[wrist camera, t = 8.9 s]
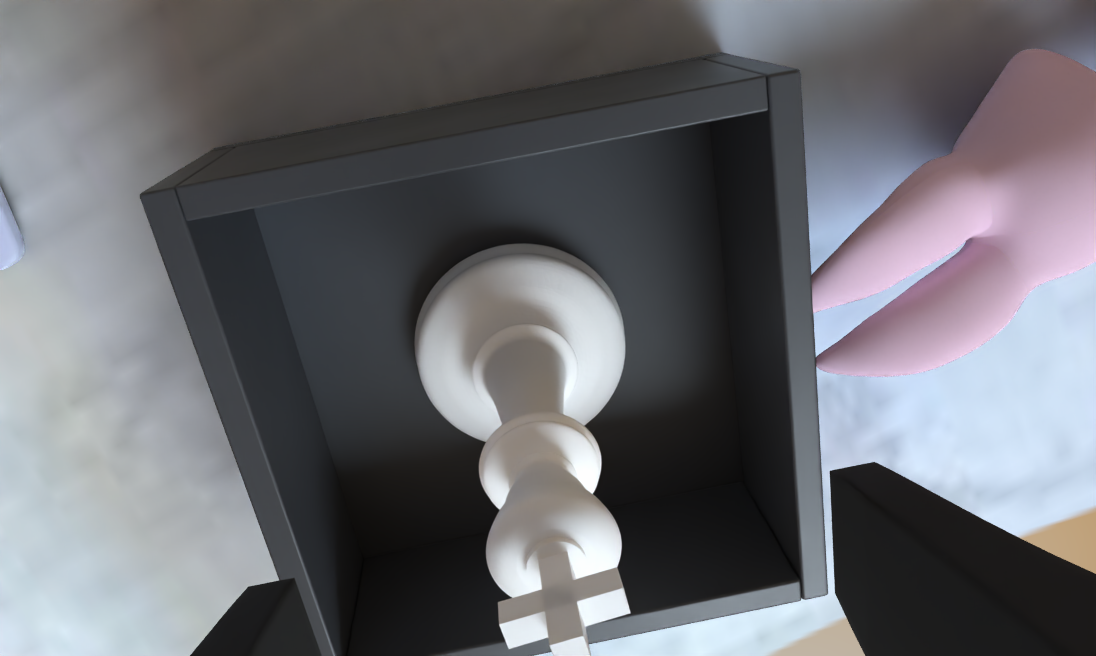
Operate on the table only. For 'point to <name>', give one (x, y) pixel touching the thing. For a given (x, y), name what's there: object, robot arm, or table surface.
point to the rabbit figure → (974, 225)
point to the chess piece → (533, 428)
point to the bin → (463, 230)
